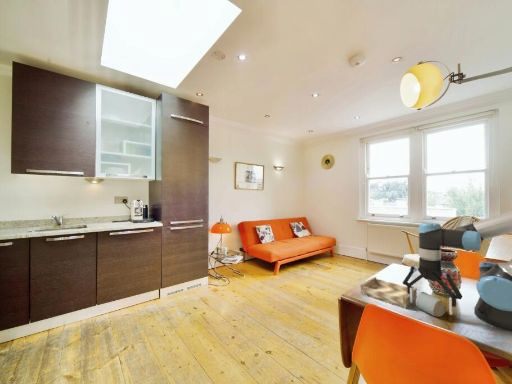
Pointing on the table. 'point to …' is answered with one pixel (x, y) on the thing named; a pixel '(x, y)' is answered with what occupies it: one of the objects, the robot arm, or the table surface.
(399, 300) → the crate
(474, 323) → the table surface
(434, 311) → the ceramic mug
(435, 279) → the robot arm
